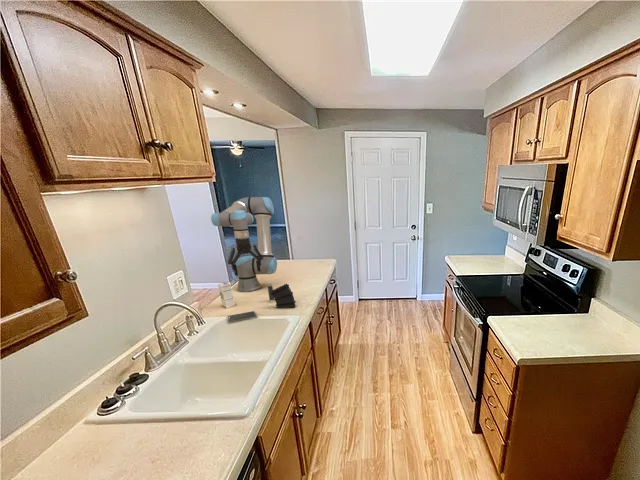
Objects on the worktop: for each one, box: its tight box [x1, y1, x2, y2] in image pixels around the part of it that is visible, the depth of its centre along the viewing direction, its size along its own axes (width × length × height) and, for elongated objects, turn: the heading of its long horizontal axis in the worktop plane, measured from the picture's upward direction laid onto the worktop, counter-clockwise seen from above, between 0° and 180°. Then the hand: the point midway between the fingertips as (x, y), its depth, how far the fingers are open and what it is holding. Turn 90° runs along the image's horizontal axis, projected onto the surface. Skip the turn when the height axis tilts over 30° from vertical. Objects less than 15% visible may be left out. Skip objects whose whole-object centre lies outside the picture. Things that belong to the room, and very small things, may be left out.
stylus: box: [267, 284, 275, 303], centre depth 211 cm, size 3×3×11 cm
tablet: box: [227, 310, 257, 324], centre depth 188 cm, size 9×14×1 cm, turn 121°
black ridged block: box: [271, 283, 296, 309], centre depth 202 cm, size 4×13×15 cm, turn 90°
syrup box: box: [217, 281, 236, 309], centre depth 204 cm, size 6×6×14 cm
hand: (248, 273), depth 198 cm, fingers open, 13 cm apart
